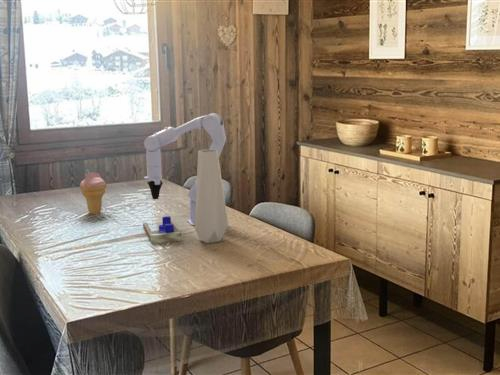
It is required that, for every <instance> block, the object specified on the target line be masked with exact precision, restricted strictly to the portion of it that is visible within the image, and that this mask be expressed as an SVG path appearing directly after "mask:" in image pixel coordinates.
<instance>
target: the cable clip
mask: <svg viewBox="0 0 500 375" xmlns="http://www.w3.org/2000/svg"><path fill="white" fill-rule="evenodd" d="M161 219H162V224H158V232H159V233H158V234H161V233H171V232H174V226H173V224H174V223H173V224H171V221H172V219H171V216H170V215H169V216H162V218H161Z"/></svg>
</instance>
